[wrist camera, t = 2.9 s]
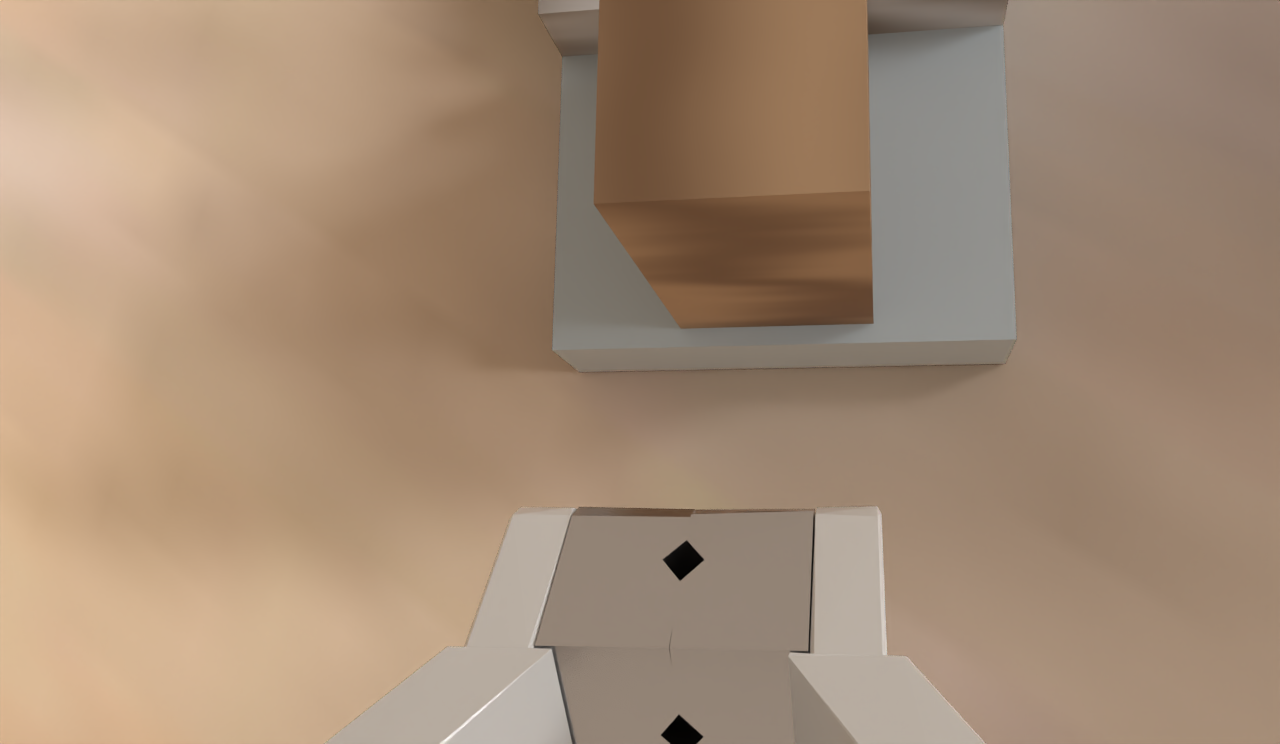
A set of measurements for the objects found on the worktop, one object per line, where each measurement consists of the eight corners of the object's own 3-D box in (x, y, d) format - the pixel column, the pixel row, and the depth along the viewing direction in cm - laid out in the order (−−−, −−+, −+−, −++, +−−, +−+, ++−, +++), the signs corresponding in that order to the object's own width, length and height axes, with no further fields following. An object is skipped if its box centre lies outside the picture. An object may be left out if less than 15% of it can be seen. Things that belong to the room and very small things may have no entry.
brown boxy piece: (1001, -10, 32) (1052, -281, 22) (1016, 319, 30) (1078, 181, 21) (563, 23, 34) (439, -208, 25) (552, 331, 33) (414, 212, 23)
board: (983, -159, 36) (992, -227, 33) (1005, 363, 33) (1016, 339, 30) (593, -120, 38) (570, -180, 36) (579, 372, 35) (551, 350, 32)
